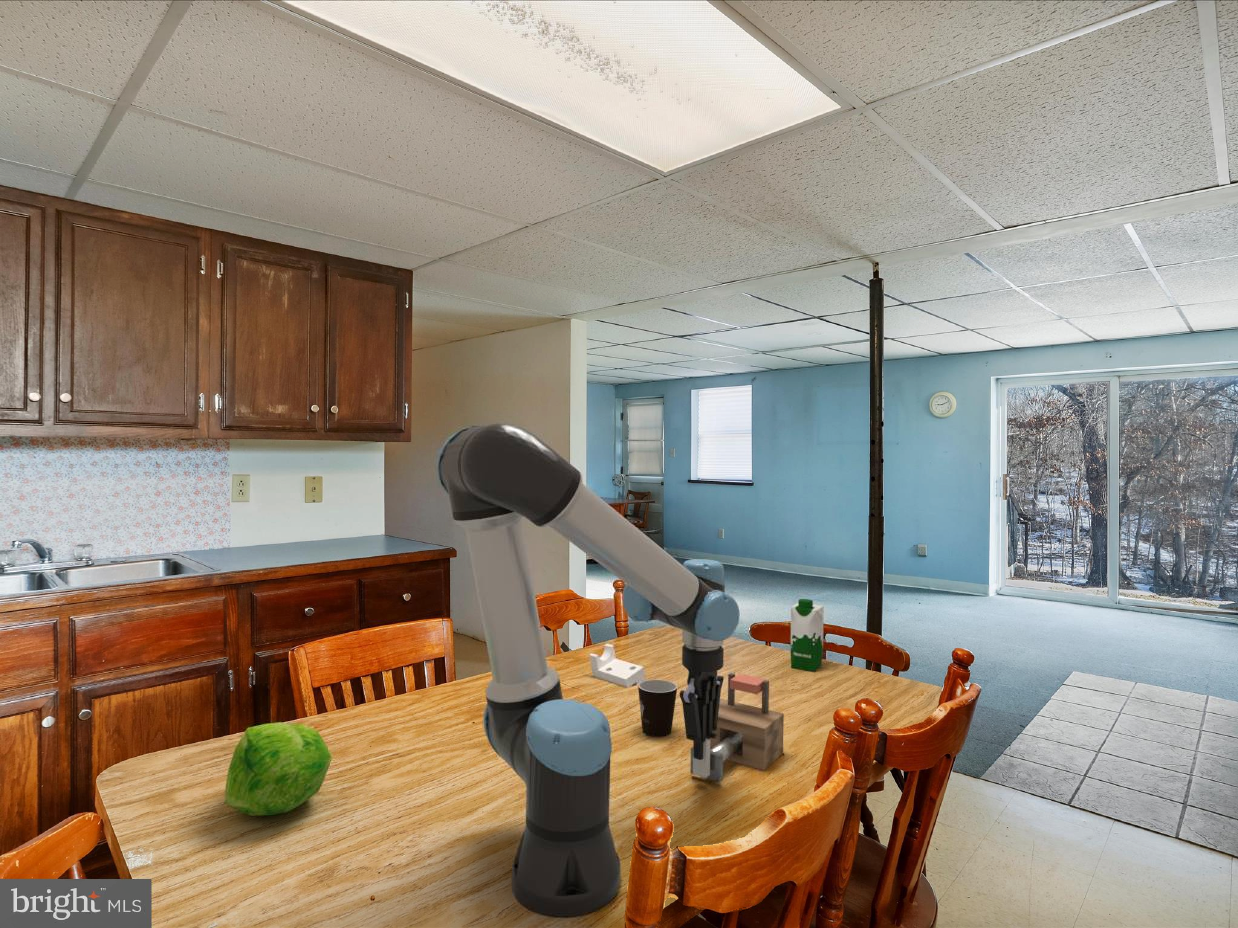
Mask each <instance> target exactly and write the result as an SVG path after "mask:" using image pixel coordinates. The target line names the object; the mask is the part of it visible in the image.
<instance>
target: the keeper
mask: <svg viewBox="0 0 1238 928" xmlns="http://www.w3.org/2000/svg"><path fill="white" fill-rule="evenodd" d="M764 680H767V681H768V679H767V678H762V677H757V676H754V675H747V674H743V673H739V674H737V675H735V677H734V678H732V679H730V689H735V691H740V692H744V693H749V694H754V695H759V694H760V693H762V681H764Z"/></svg>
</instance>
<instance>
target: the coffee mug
mask: <svg viewBox="0 0 1238 928" xmlns="http://www.w3.org/2000/svg"><path fill="white" fill-rule="evenodd" d="M637 687H638V688H637V689H638V698H639V711H640V720H641V721H640V722H641V731H642V733H643V734H644V735H646V736H648V737H652V738H664V737H665V738H666V737H668V736H670V735H671V734H672V730H673V729H672V728H673V722H674V715H675V708H676V707H675V706H676V699H677V691H678V685H677V684H676V683H674V682H673V681H670V680H665V679H657V678H656V679H645V680H643V681H642V682H640V683H639V684H637Z"/></svg>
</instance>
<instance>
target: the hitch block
mask: <svg viewBox="0 0 1238 928" xmlns="http://www.w3.org/2000/svg"><path fill="white" fill-rule="evenodd" d="M727 677H728V678H727V680H728V681H727V699H722V698H720V703H719V712H718V721H717V729H716V731H712V733H713V734H716V737H715V739H713V738H710V750H711V749H712V748H713V747H715V746H716V745H717V744H719V743H720V742H721V741H723V740H724V739H725V738H727V737H728V736H729V735H731V734H732V733H733V732H739V733H742V734H743V746H742V747H741V748H739V749H738V750H737V751H736V752H734V753H733V754H732V755H731V756H729V757H728V758H727V759H726V760H728V761H730V762H735V763H737V764H740V765H744V766H747V767H751V768H753V769H754V768H755V769H757V770H760V771H761V770H762V771H765V770H766V769H767V768H768V767H770V765H772V763H773V762H775V761H776V760H777V759H778V758H779V757H780V756H781V755H782V754H783V753H784V720H785V719H784V715H785V713H783V712H779V711H774V710H769V709H770V708H769V707H770V706H769V703H770V702H769V700H770V680H768V679H767V680H764V681H762V691H761V707H758V706H755V705H754V706H753V705H749V704H745V703H742V702H741V703H740V702H736V701H735V697H736V694H735V693H736V690H735V689H730V679H732V678H734V677H736V674H735V673H733V672H730V673H728V674H727ZM726 760H725V761H726Z"/></svg>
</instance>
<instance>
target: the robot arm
mask: <svg viewBox="0 0 1238 928" xmlns="http://www.w3.org/2000/svg"><path fill="white" fill-rule="evenodd" d="M435 465H436V466H435V467H436V468H435V469H436V475H437V479H438V481H439V484H440V485H441V487H442V488H443V490H444V491H445V493H447V495H448V498H449V503H450V508H451V514H452V519H453V522H454V523H455V524H457V525H458V526H460V527H462V528H463V529H464V530H465V533H466V540H467V546H468V551H469V556H470V560H471V566H472V572H473V577H474V582H475V583H474V584H475V588H476V592H477V599H478V604H479V610H480V615H481V621H482V626H483V632H484V637H485V643H486V649H487V654H488V660H489V664H490V670H491V675H492V679H491V680H490V682H489V683H488V685H487V686H486V687H485V692H484V694H485V699H486V705H485V708H484V711H483V720H482V721H483V728H484V734H485V735H486V737H487V741H488V742H489V744H490V747H491V748H492V750H494V751H493V752H495V753H496V754H497V755H498V756H499V757H500V758H501V759H503V761H504V762H505V763H506V764H507V765H508V766H509V768H511V769H512V771H514V772H515V773H516V775H517V776H518V777H519V778H520V779H521V780H522V781H523V783H524V784H525V789H526V791H525V827H524V831H523V833H522V836H521V839H520V843H519V844H518V847H517V849H516V850H517V851H516V854H515V857H514V860H513V863H512V868H511V889H512V893H513V894H514V896H515V898H516V899H517V901H518V902H520V903H521V904H522V905H523V906H524V907H526V908H527V909H530V910H531V911H534V912H536V913H538V914H542V915H546V916H551V917H576V916H580V915H586V914H589V913H591V912H595V911H597V910H599V909H601V908H602V907H604V906H606V905H608V904H609V902H611V901H612V900H613V899H614V898H615V896H616V895H617V894H616V893H618V892H619V890H620V886H621V874H622V873H621V872H622V871H621V870H622V869H621V867H622V866H621V861H620V857H619V854H618V853H617V850H616V846H615V843H614V842H615V841H614V838H613V834H612V831H611V827H610V799H611V798H610V796H611V795H610V789H611V787H610V786H611V785H610V784H611V754H612V752H613V751H612V747H613V745H612V737H611V727H610V726H611V725H610V723H609V721H608V719H607V717H606V715H605V714H604V713H603V712H602V711H601V710H600V709H599V708H598V707H596V706H595V705H592V704H590V703H587V702H579V700H576V699H568V698H567V699H565V698H563V697H564V696H563V692H562V685H561V681H560V676H559V675H560V674H559V673H558V671H556V670H555V669H554V668H552V667H550V666H549V665H548V662H547V656H546V651H545V646H544V639H543V633H542V627H541V623H540V622H541V621H540V616H539V611H538V610H539V609H538V606H537V600H536V599H537V598H536V593H535V589H534V588H535V587H534V582H533V575H532V572H531V564H530V558H529V554H528V548H527V542H526V535H525V531H524V526H523V525H524V524H523V518H525V519H527V520H529V522H531V523H533V525H535V526H536V527H538V528H545V527H550V528H551V529H553V530H554V531H555V532H557V533H558V534H559V535H560V536H562V537H563V538H565V539H566V540H567V541H569V542H570V543H571V544H573V545H574V546H575V547H577V548H578V549H579V550H580V551H582V552H584V553H585V554H586V555H588V556H589V558H592V559H593V560H594V561H595V562H597V563H598V564H599V565H601V566H602V567H603V568H605V569H606V570H607V571H609V572H610V573H611V574H612V575H614V576H616V577H617V578H618V579H619V580H621V581H622V582H624V583H625V586H624V588H623V591H622V594H623V595H622V598H623V599H622V602H623V607H624V610H625V613H626V615H627V617H628V618H629V619H630V620H632V621H633V622H637V623H638V622H639V623H640V622H646V623H649V622H652V621H658V622H661V623H663V624H666V625H667V626H668V625H669V626H671V627H674V628H676V629H677V628H678V629H681V630H682V632H681V633H682V637H681V642H682V643H683V646H682V647H681V650H682V651H681V665H682V667H684V668H685V669H686V670H687V671H688V675H687V679H686V683H687V688H685V690H683V689H681V690H680V691H679V698H680V701H681V703H682V710H683V712H682V713H683V720H684V728H685V735H686V736H685V737H686V739H687V740H690V741H692V742H693V745H692V747H693V774H692V775H694V774H695V775H694V776H697V775H698V776H697V777H700V776H702V777H701V778H704V777H705V778H704V779H707V777H708V776H709V775H710V738H713V739H715V737H716V734H713V733H712V731H716V729H717V721H718V712H719V703H720V700H721V693H722V687H723V683H724V680H725V679H724V678H725V677H724V676H723V675H718V671H719V670H721V669H722V668H724V654H725V653H724V652H725V651H724V647H723V644H724V641H725V640H727V639H729V638H730V637H731V636H732V635H733V634H735V631H736V630H737V627H738V625H739V623H740V622H739V621H740V614H741V613H740V609H739V605H738V603H737V601H736V599H734V597H733V596H731V595H730V594H728V593H726V592H725V590H726V589H725V588H726V584H725V583H726V582H725V581H726V580H725V568H724V565H723V564H722V563H721V562H720V561H718V560H714V559H707V558H706V559H704V558H702V559H701V558H699V559H698V558H694V559H688V560H685V561H684V562H683V564H682V563H680V562H679V561H678V560H677V559H676V558H674V557H673V556H672V555H670V554H669V553H668V552H667V551H665V550H664V549H663V548H662V547H661V546H659V544H657V543H656V542H655V541H653V540H652V539H651V538H650V537H649V536H648V535H646V534H645V533H644V532H643V531H641V529H639V528H638V527H636V526H635V525H634V524H633V523H631V522H630V520H628V519H626V518H625V517H624V516H623V515H622V514H621V513H620V512H618V510H615V509H614V508H613V507H612V506H611V505H609V503H607V502H606V501H605V500H604V499H602V498H601V497H600V496H598V495H597V493H595V492H593V490H592V489H590V488H589V487H588V486H586V485H585V484H584V483H583V474H582V472H581V471H579V469H577V468H576V467H575V466H573V464H571V463H569V461H568V460H567V459H565V458H564V457H563V456H562V455H561V454H559V453H558V452H557V451H556V450H554V449H553V448H552V447H551V446H550V445H548V444H547V443H546V442H544V441H543V440H542V439H540V438H539V437H538V436H537V435H535V434H534V433H533V432H531V431H529V430H527V428H524V427H522V426H519V425H516V424H514V423H506V422H497V423H490V424H485V425H471V426H468V427H465V428H462V429H461V430H459V431H457V432H455V433H454V434H452V435H450V436H449V437H448V438H447V439H446V440H445V442H444V443H443V444H442V446H441V447H440V450H439V452H438V454H437V458H436V464H435ZM618 889H619V890H618Z"/></svg>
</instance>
